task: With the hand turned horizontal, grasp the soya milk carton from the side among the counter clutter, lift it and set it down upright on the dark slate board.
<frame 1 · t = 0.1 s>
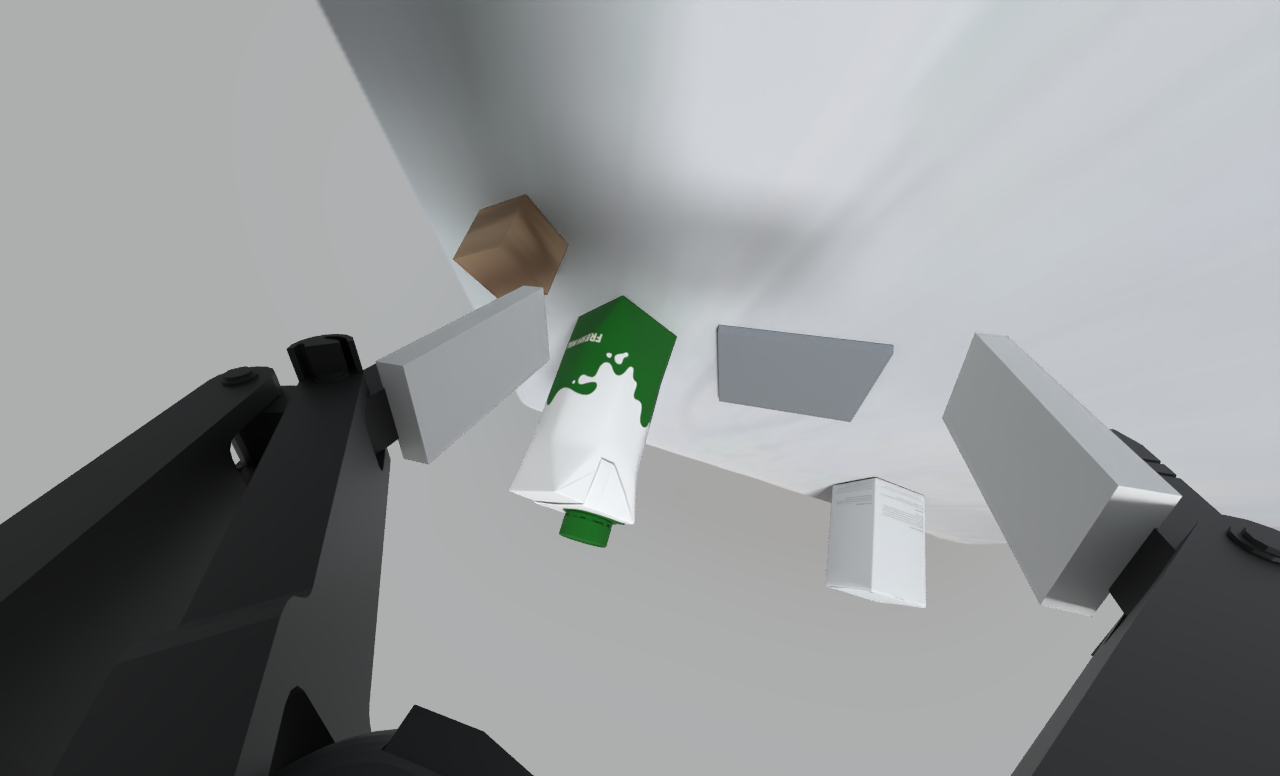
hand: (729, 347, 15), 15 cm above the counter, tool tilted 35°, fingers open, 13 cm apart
soya milk: (627, 324, 44), on the counter
supplement box: (876, 488, 68), on the counter
walnut block: (525, 226, 35), on the counter
slate board: (791, 374, 44), on the counter
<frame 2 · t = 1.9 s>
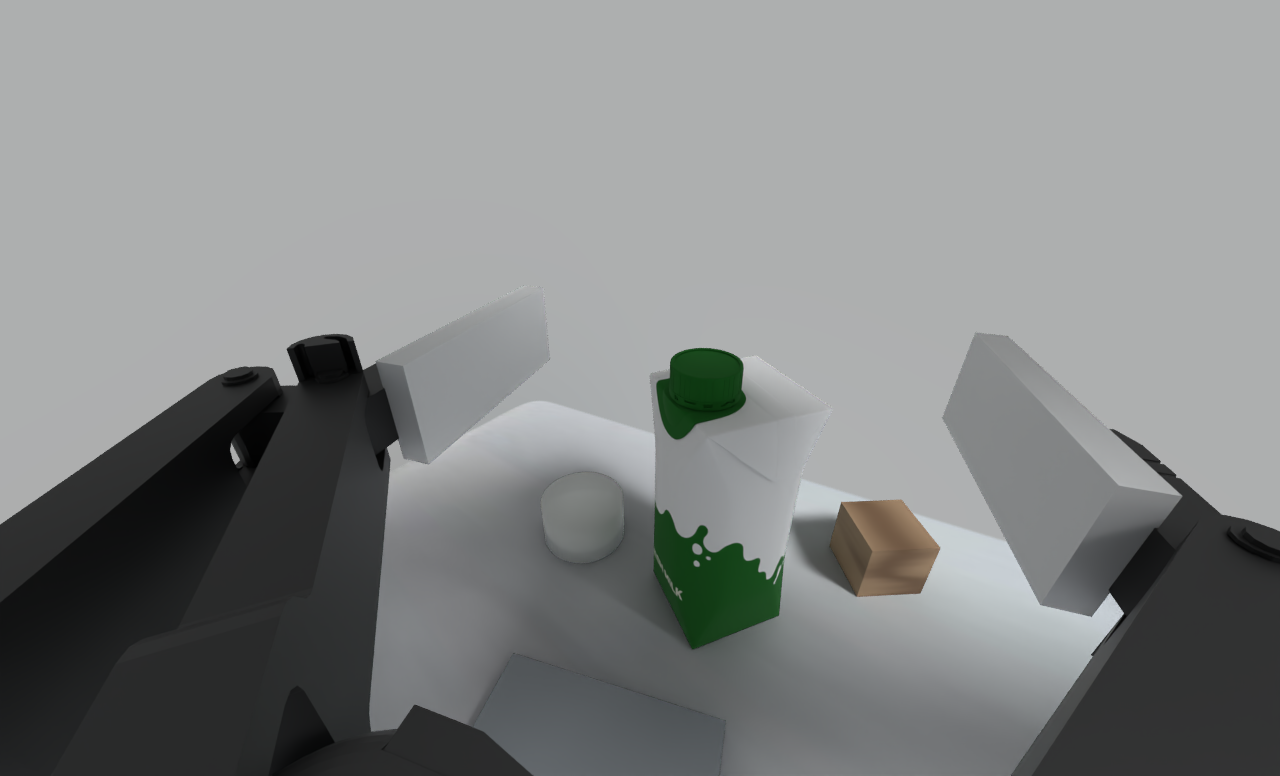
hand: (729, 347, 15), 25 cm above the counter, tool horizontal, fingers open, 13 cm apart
soya milk: (713, 594, 35), on the counter
walnut block: (872, 568, 37), on the counter
white cylinder puck: (585, 532, 41), on the counter
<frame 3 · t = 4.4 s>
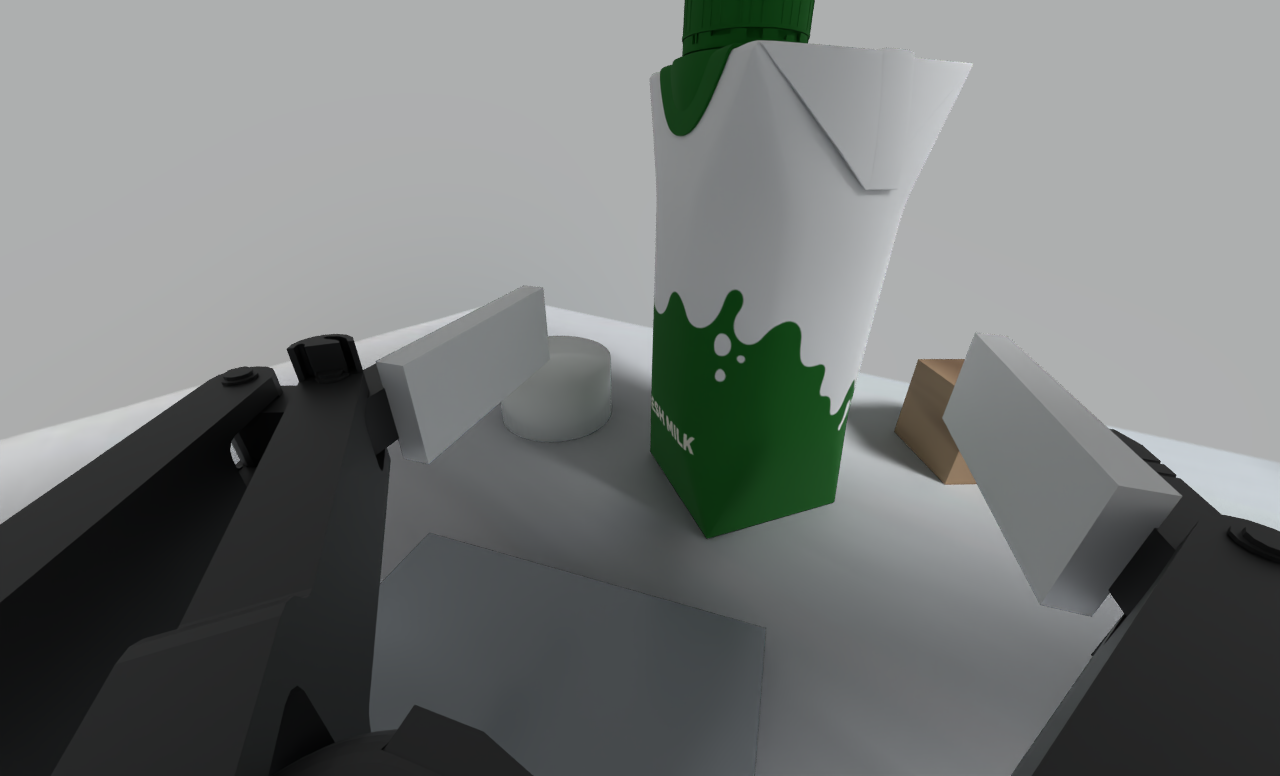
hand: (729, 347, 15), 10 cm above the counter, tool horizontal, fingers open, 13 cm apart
soya milk: (736, 478, 24), on the counter
walnut block: (959, 456, 26), on the counter
white cylinder puck: (558, 412, 30), on the counter
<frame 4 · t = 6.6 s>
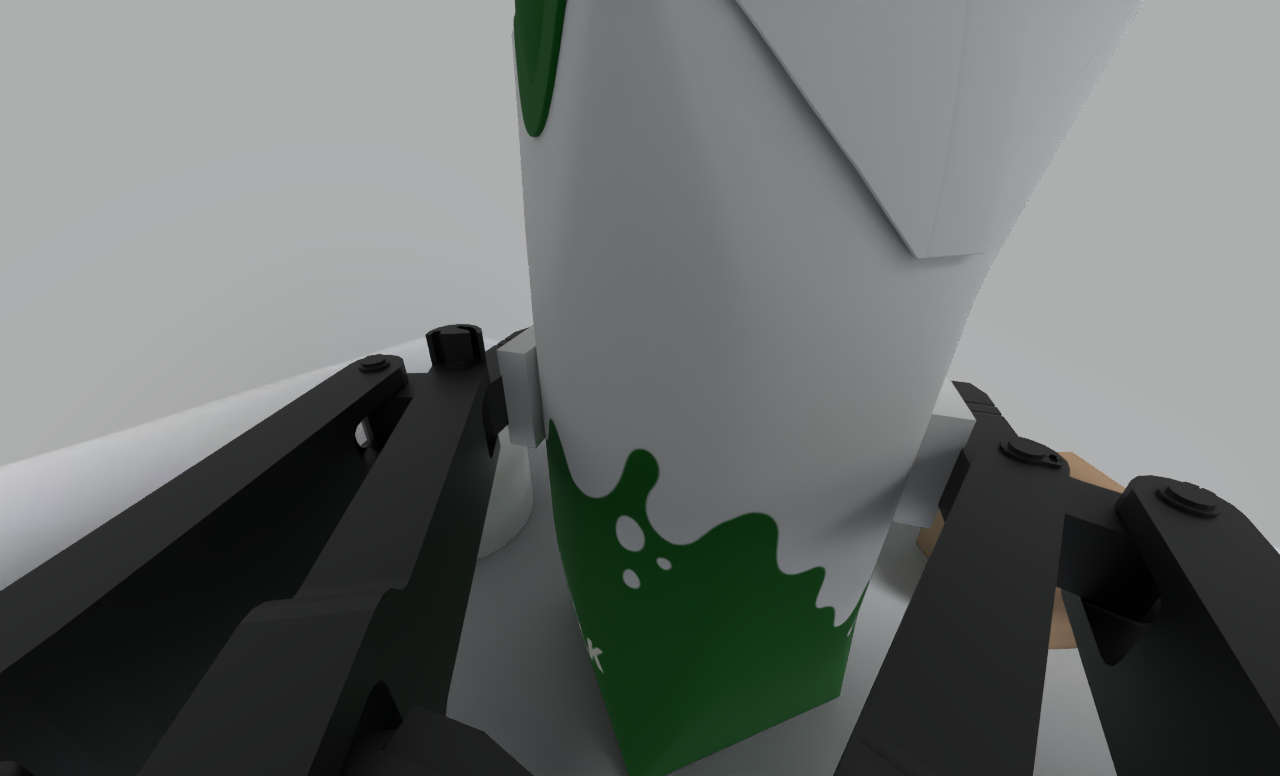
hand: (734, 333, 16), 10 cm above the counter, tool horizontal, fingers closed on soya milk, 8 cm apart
soya milk: (695, 640, 17), on the counter, touching gripper
walnut block: (1010, 589, 19), on the counter
white cylinder puck: (460, 511, 22), on the counter
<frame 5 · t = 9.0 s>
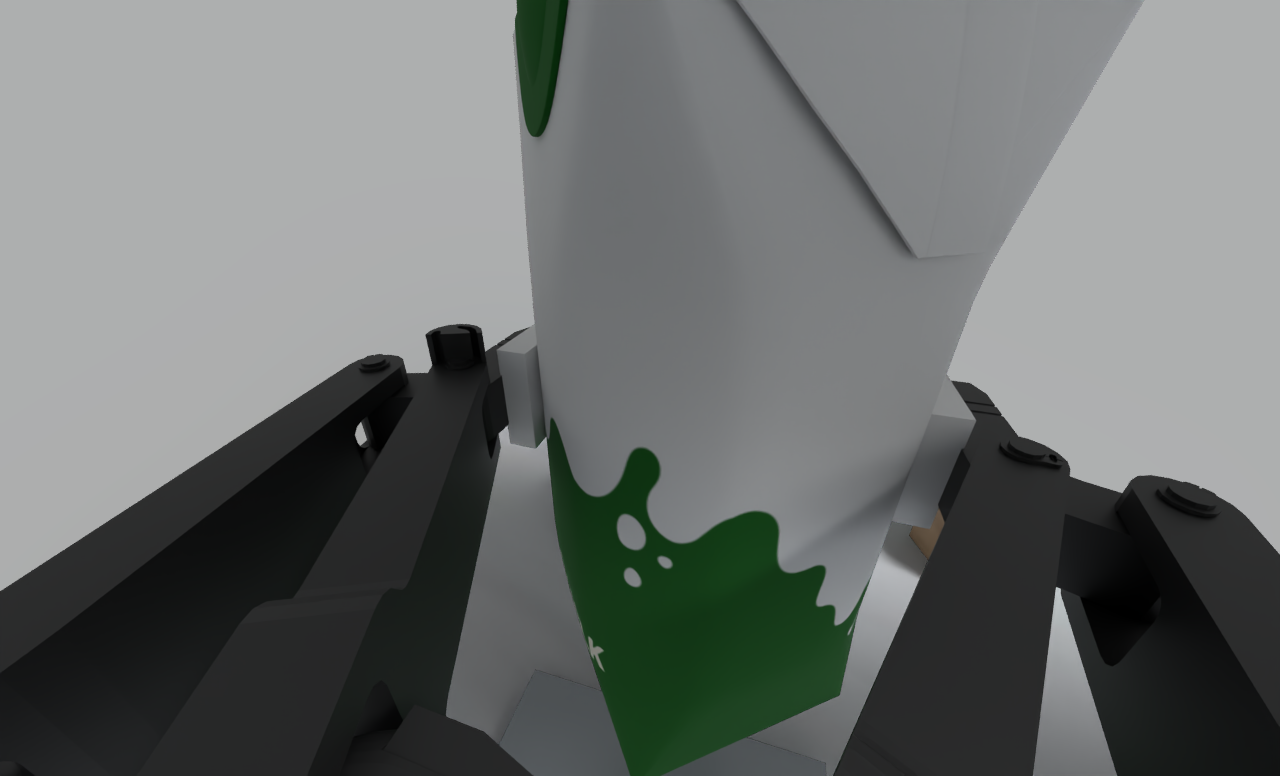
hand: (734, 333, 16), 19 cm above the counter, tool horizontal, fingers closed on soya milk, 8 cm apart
soya milk: (695, 639, 17), point 9 cm above the counter, touching gripper
walnut block: (966, 563, 31), on the counter
when the fingers open (11 cm above the counter, at t = 11.5 s): soya milk stays where it is, resting on slate board.
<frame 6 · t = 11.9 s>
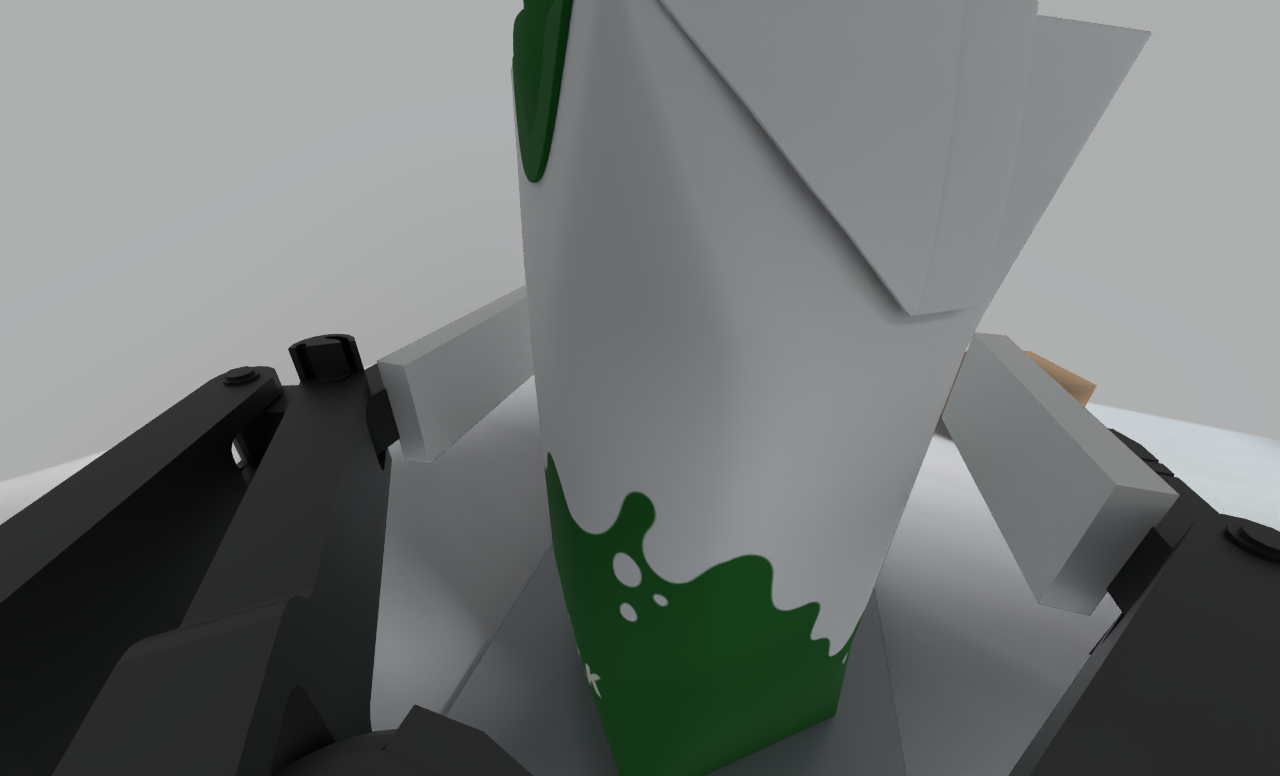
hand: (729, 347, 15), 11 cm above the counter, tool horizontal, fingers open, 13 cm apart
soya milk: (692, 656, 17), point 1 cm above the counter, touching slate board
walnut block: (993, 432, 31), on the counter
slate board: (685, 660, 17), on the counter
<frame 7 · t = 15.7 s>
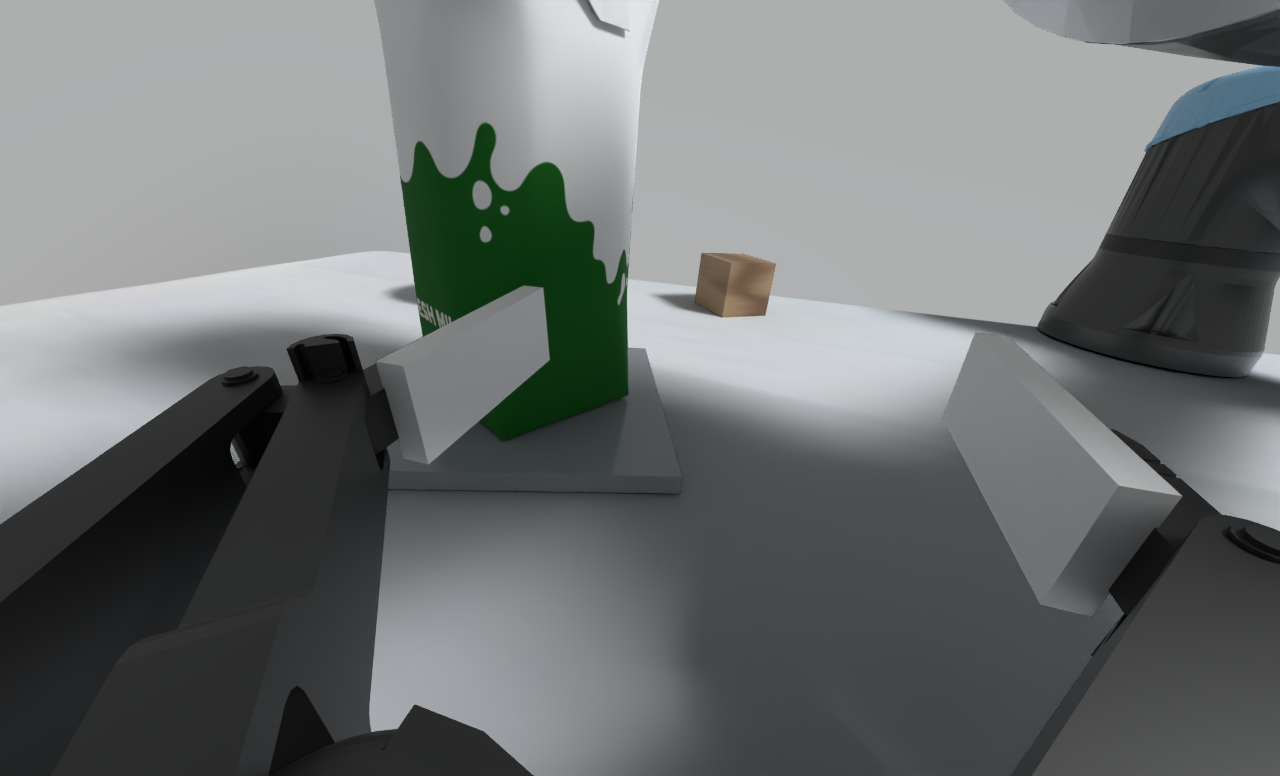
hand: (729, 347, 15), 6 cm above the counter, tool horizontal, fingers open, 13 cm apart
soya milk: (531, 393, 23), point 1 cm above the counter, touching slate board
walnut block: (728, 309, 45), on the counter
slate board: (521, 404, 23), on the counter
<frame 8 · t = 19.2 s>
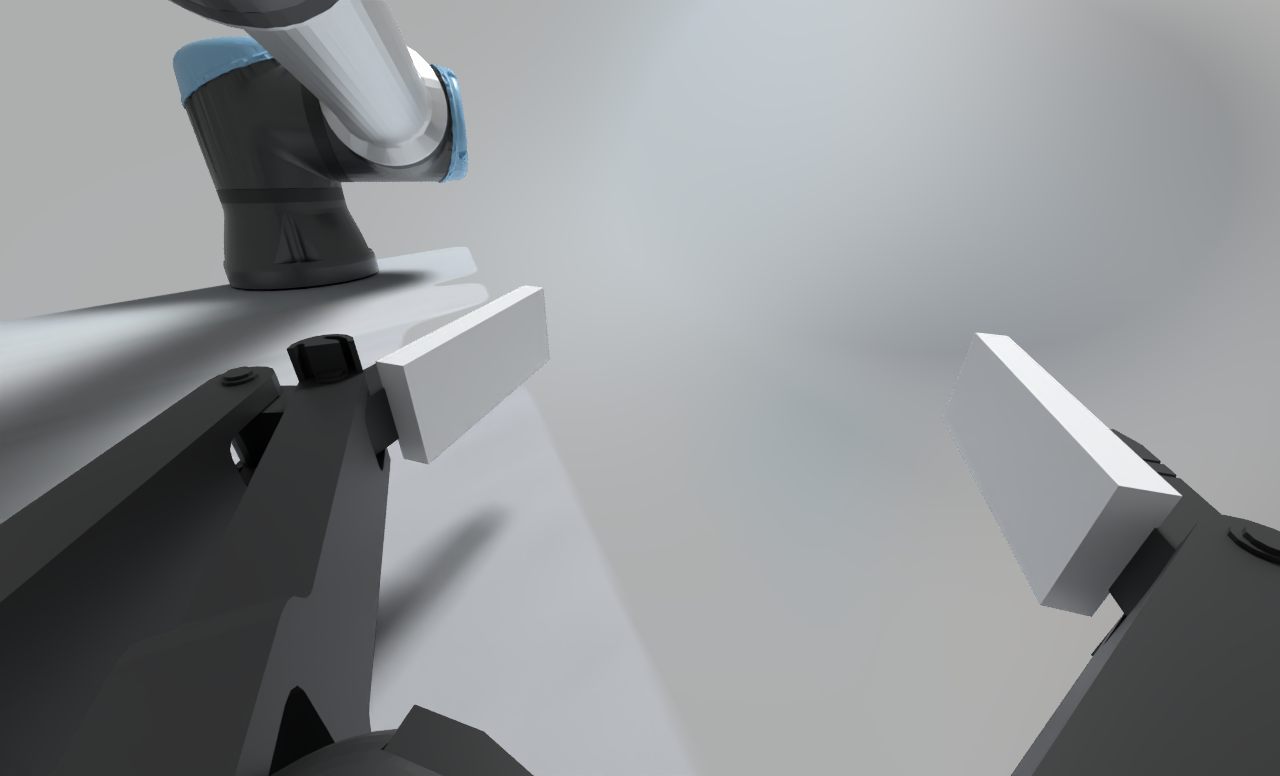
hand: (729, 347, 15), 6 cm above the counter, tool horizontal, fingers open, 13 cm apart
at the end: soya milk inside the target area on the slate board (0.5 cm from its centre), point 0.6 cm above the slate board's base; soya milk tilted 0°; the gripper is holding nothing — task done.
